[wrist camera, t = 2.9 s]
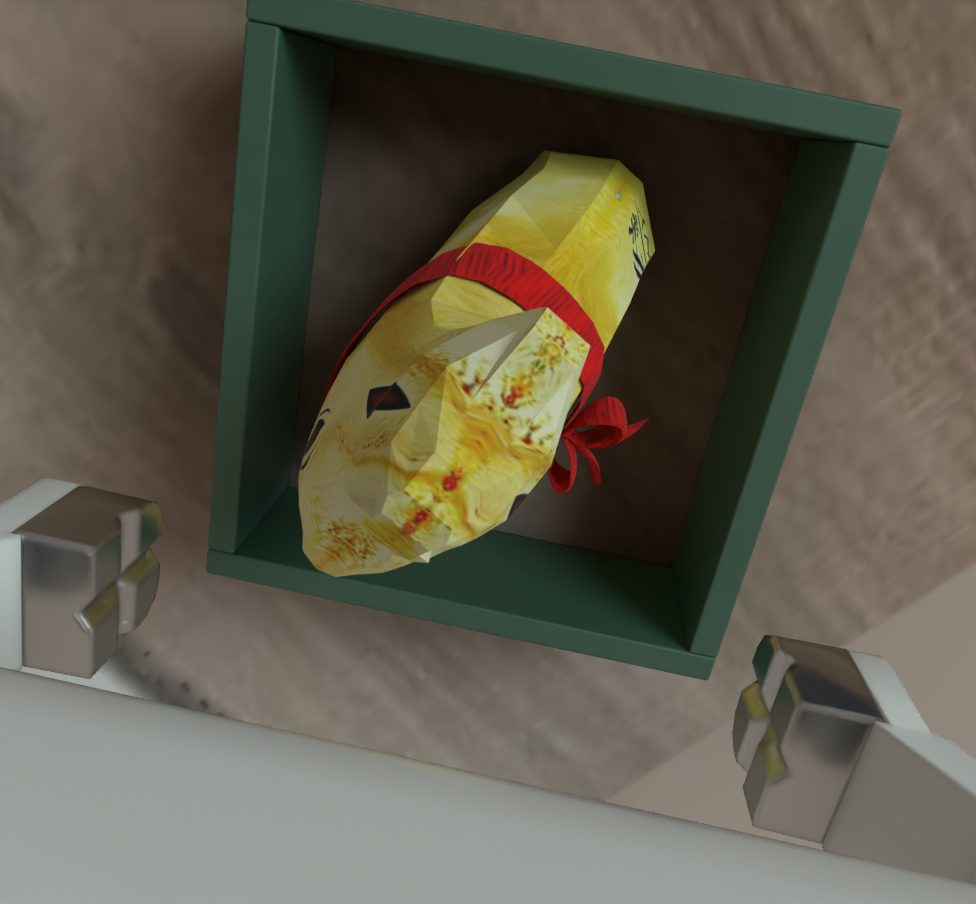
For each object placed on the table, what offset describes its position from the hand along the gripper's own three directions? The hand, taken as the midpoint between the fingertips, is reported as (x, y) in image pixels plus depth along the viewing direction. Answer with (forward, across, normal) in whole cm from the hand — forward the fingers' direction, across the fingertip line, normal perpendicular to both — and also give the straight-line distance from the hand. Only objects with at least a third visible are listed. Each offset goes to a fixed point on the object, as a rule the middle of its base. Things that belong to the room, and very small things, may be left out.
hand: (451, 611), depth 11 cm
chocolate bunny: (+16, 0, 0) cm, 16 cm away
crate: (+16, 0, 0) cm, 16 cm away
